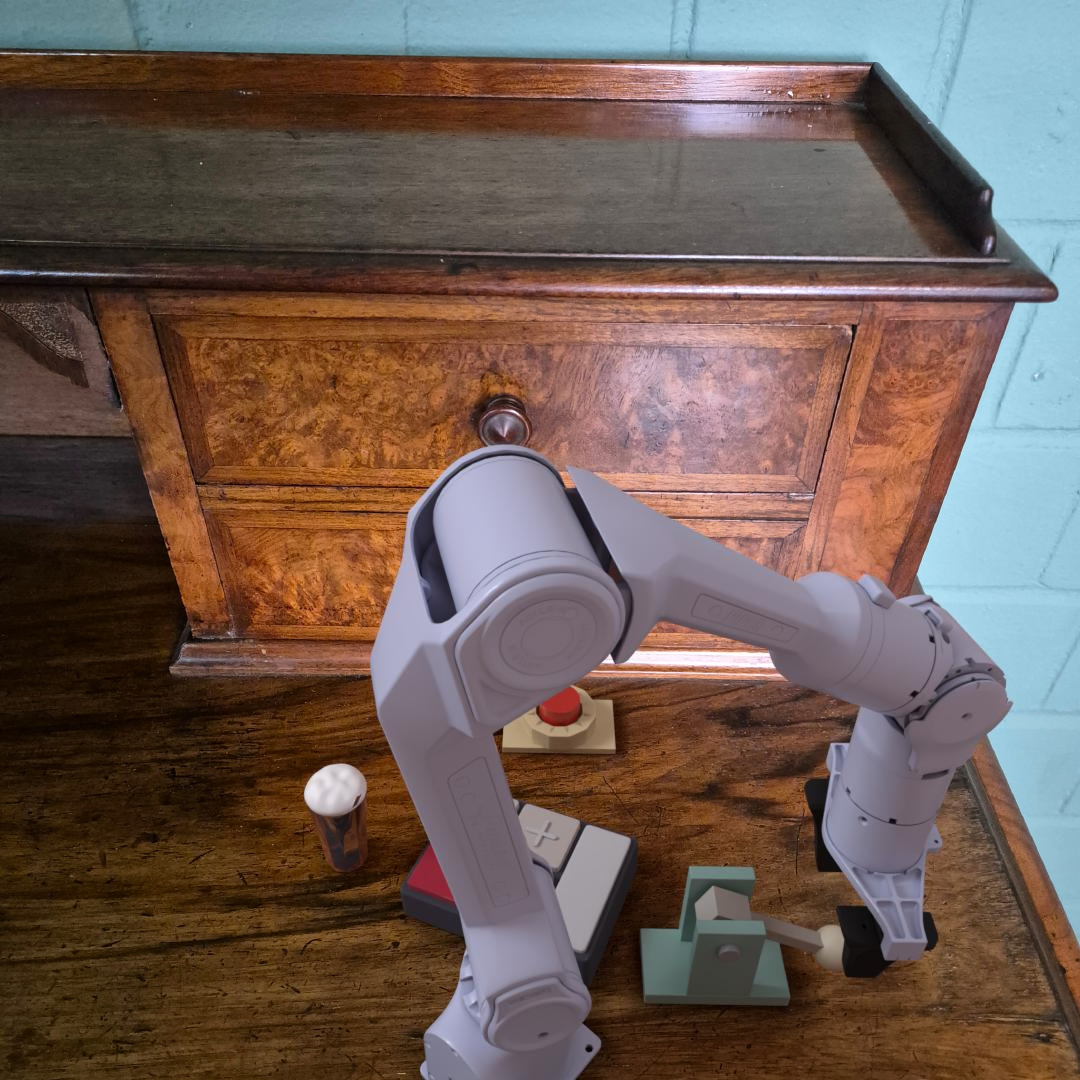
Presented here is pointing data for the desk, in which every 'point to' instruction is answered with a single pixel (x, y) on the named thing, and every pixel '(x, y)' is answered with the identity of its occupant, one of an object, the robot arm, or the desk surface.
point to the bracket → (713, 952)
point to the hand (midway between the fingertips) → (844, 917)
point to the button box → (564, 731)
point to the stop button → (561, 708)
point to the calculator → (579, 880)
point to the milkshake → (339, 814)
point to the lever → (775, 927)
